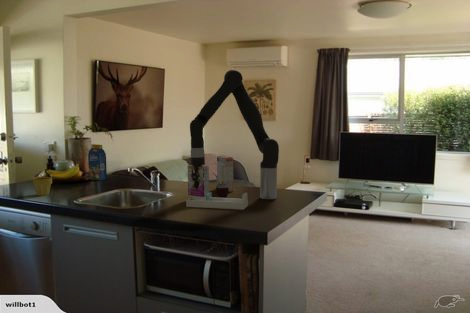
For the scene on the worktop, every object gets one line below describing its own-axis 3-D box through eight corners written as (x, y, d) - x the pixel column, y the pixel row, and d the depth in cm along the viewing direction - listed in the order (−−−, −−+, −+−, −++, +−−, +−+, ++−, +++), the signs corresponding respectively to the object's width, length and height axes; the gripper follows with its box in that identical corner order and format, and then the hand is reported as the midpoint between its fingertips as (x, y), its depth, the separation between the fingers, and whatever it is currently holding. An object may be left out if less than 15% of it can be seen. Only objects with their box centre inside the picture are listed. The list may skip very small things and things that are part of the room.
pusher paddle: (209, 201, 234) (209, 192, 233) (226, 202, 232) (226, 193, 231) (205, 204, 227) (205, 194, 227) (222, 205, 225) (222, 195, 224)
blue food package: (96, 178, 324) (94, 143, 321) (107, 179, 317) (105, 144, 314) (88, 179, 319) (87, 144, 316) (99, 180, 312) (98, 145, 309)
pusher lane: (192, 202, 238) (192, 189, 237) (247, 205, 230) (247, 192, 230) (186, 206, 228) (186, 193, 228) (243, 209, 221) (243, 195, 221)
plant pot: (56, 193, 264) (55, 177, 263) (42, 196, 255) (41, 179, 254) (43, 192, 269) (43, 176, 268) (29, 195, 259) (28, 178, 258)
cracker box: (233, 191, 269) (233, 157, 267) (224, 192, 267) (224, 157, 265) (225, 188, 282) (225, 155, 280) (216, 188, 280) (216, 155, 278)
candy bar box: (187, 195, 244) (186, 165, 242) (193, 193, 248) (192, 164, 247) (204, 197, 238) (203, 166, 236) (209, 195, 242) (209, 165, 241)
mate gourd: (231, 198, 250) (231, 171, 248) (222, 200, 243) (222, 173, 242) (220, 196, 254) (220, 170, 252) (211, 199, 247) (211, 172, 246)
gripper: (200, 157, 233) (200, 189, 235) (208, 154, 247) (209, 184, 249) (186, 157, 235) (187, 189, 237) (195, 154, 249) (196, 184, 251)
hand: (198, 186), depth 243 cm, fingers closed on candy bar box, 6 cm apart
